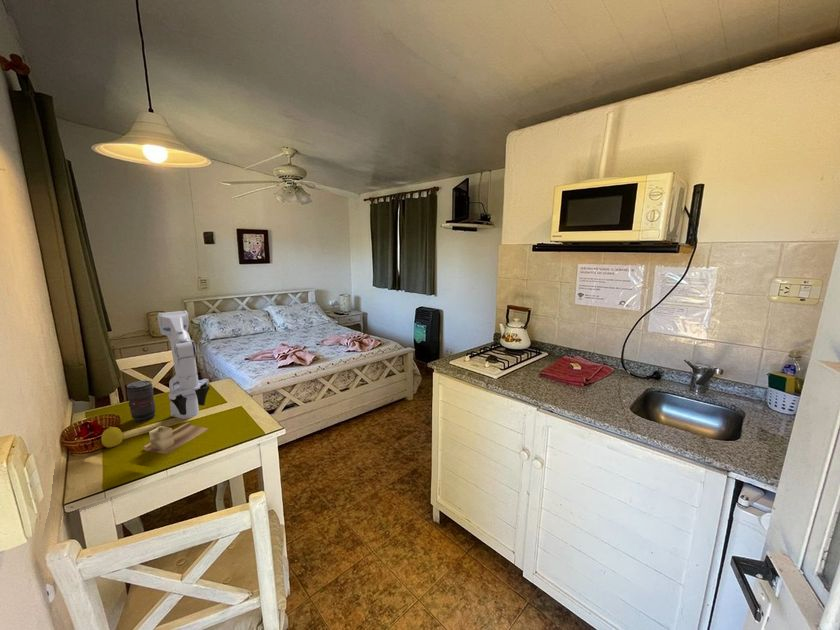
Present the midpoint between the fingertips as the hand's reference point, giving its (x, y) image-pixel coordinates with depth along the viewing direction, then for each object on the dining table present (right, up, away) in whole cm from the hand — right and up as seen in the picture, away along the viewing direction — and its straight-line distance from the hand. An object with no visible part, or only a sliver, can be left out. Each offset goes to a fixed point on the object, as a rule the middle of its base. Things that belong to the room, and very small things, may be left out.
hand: (192, 409), depth 127 cm
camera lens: (-28, -8, +14) cm, 32 cm away
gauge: (-5, -10, -9) cm, 14 cm away
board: (-2, -11, -4) cm, 12 cm away
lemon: (-23, -12, -7) cm, 26 cm away
